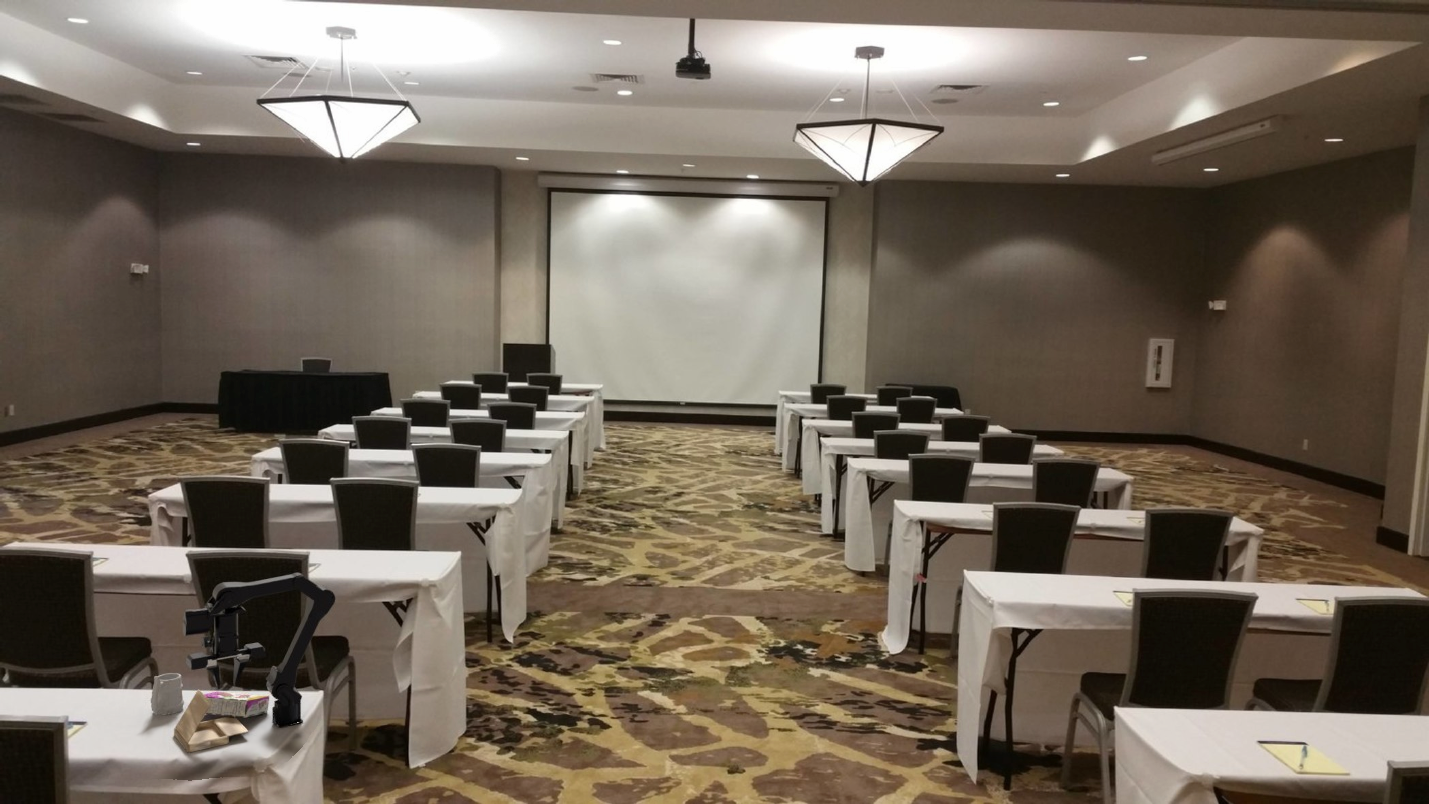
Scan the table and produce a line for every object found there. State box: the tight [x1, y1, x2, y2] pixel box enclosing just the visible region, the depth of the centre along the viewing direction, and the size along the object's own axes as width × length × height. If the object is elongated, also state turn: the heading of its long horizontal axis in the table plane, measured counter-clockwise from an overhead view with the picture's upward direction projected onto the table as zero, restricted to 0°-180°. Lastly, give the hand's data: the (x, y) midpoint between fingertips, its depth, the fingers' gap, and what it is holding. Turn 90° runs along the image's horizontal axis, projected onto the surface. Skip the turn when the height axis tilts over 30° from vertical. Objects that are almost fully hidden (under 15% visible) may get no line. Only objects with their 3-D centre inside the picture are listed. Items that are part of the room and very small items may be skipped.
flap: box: [174, 689, 212, 743], centre depth 274 cm, size 1×12×11 cm
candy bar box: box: [203, 691, 270, 719], centre depth 291 cm, size 11×5×16 cm
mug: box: [150, 672, 185, 716], centre depth 292 cm, size 8×12×12 cm, turn 177°
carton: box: [173, 716, 249, 753], centre depth 277 cm, size 15×15×2 cm
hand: (226, 686), depth 279 cm, fingers open, 4 cm apart
